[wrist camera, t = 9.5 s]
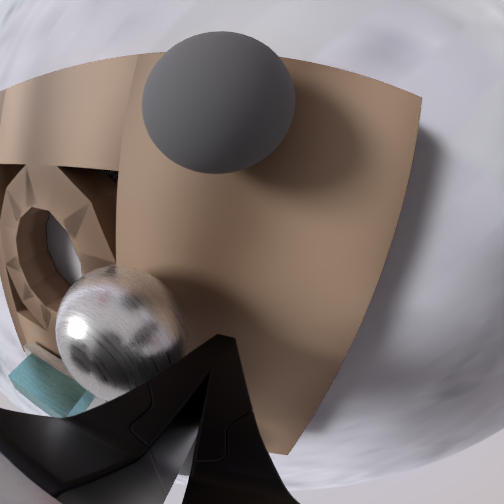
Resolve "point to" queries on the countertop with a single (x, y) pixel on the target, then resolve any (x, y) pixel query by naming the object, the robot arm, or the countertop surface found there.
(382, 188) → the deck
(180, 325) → the ball
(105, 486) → the robot arm
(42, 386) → the cover
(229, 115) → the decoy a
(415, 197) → the countertop surface
